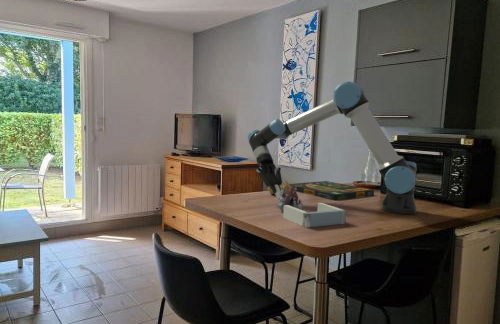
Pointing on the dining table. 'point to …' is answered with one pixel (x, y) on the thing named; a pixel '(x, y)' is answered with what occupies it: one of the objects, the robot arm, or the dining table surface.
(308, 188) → the pizza box
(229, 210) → the dining table surface
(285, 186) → the ginger root
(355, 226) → the dining table surface
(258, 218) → the dining table surface
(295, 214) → the cradle
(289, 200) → the brake caliper
